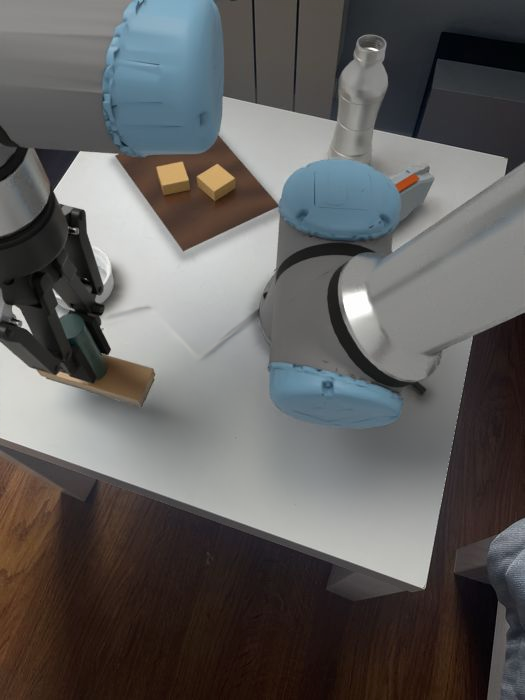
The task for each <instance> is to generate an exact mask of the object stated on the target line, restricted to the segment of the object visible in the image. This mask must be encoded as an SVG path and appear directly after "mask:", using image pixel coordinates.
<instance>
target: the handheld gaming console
mask: <svg viewBox="0 0 525 700" xmlns="http://www.w3.org/2000/svg"><path fill="white" fill-rule="evenodd" d="M430 169H431V167H430V166H429V165H428V163H426V162H422V163H419V164H415V165H411V166H408V167H406V168H405V169H403V170H401V171H400V172H398V173H396V174H395V175H393V176H392V177H389V179H390V180H391V181H392V182H393V183H394V184H395V186H396V187H397V189H398V191H399V194H400V197H401V210H400V214H401V215H400V216H401V218H400V220H399V223H401V222H402V221H404V220H405V219H406V218H408V217H409V216H410V214H411V213H412V211H414V209H416V208H418V207H419V206H420V205H422V204H423V203H424V202H425V200H426V198H427V196H428V194H429V192H430V190H431V188H432V185H433V183H434V182H435V179H436V178H435V176H434V175H432V174H431V173H430Z"/></svg>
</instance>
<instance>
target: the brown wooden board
mask: <svg viewBox="0 0 525 700" xmlns="http://www.w3.org/2000/svg"><path fill="white" fill-rule="evenodd" d="M114 157H115V158H116V160H117V161H118V162H119V164H120V165H121V167H122V168H123V169H124V171H125V173H126V174H127V175H128V177H129V178H130V179H131V181H132V182H133V184H134V185H135V186H136V187H137V189H138V190H139V192H140V193H141V195H142V196H143V197H144V199H145V200H146V202H147V204H149V206H150V207H151V208H152V210H153V211H154V213H155V215H157V217H158V218H159V220H160V221H161V222H162V224H163V225H164V227H165V228H166V229H167V231H168V232H169V234H170V235H171V236H172V238H173V240H175V242H176V244H178V246H179V247H180V249H181V251H182V252H185V251H187V250H190V249H192V248H193V247H196V246H198V245H200V244H202V243H204V242H206V241H208V240H211V239H214V238H215V237H218V236H220V235H221V234H224V233H226V232H228V231H230V230H233V229H234V228H237V227H238V226H240V225H243V224H245V223H247V222H249V221H251V220H253V219H256V218H257V217H259V216H261V215H264V214H266V213H268V212H271V211H272V210H275V209H277V208H278V204H279V203H278V202H277V201H276V200H275V198H274V197H272V196H271V194H270V193H269V192H268V191H267V189H265V187H264V186H263V185H262V184H261V182H260V181H259V180H258V179H257V177H256V176H254V174H252V172H251V171H250V170H249V169H248V167H247V166H246V165H245V164H244V163H243V162H242V161H241V160H240V158H239V157H238V156H237V155H236V154H235V152H234V151H233V150H232V149H231V148H230V147H229V146H228V144H227V143H226V142H225V141H224V140H223V138H221V136H220V135H219V134H218V137H217V139H216V141H215V142H214V144H213V145H212V146H211V147H210V148H209V149H208V150H207V151H205V152H203V153H199V154H161V155H148V156H146V157H141V158H140V157H137V156H136V157H132V156H130V155H126V154H114ZM177 162H183V164H184V167H185V170H186V173H187V176H188V179H189V184H190V190H187V191H183V192H178V193H173V194H169V195H164V194H163V191H162V188H161V185H160V181H159V178H158V174H157V169H156V167H158V166H163V165H168V164H173V163H177ZM216 164H218V165H220V166H221V167H222V168H223V169H224V170H226V171H227V172H228V173H229V174H231V175H232V176H233V177H234V178H235V189H233V190H232V191H230V192H229V193H227V194H225V195H224V196H222V197H221V198H219V199H218V200H216V201H214V200H213V199H212V198H211V197H210V196H208V195H207V194H206V193H205V192H204V191H203V190H201V189H200V188H199V187H198V183H197V176H198V175H200V174H202V173H203V172H205V171H206V170H208V169H210V168H211V167H213V166H215V165H216Z"/></svg>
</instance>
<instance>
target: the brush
mask: <svg viewBox="0 0 525 700" xmlns="http://www.w3.org/2000/svg"><path fill="white" fill-rule="evenodd" d="M59 319H60V322H61V324H62V327H63V329H64V332H65V334H66V337H67V339H68V342H69V344H70V345H73V346H76V347H79V349H80V350H81V352H82V354H83V355H84V357H85V359H86V360H87V362H88V363H89V365H90V367H91V368H92V370H93V372H94V373H95V375H96V377H97V378H96V380H95V382H94V384H93V383H90V382H86V381H83V380H80V379H76V378H73V377H70V376H69V374H66V373H63V372H59V373H58V374H57V375H53V374H49V373H46V372H43V371H39V370H36V372H37V373H38V374H39V376H41V377H43V378H45V379H46V380H50V381H53V382H55V383H59V384H62V385H65V386H69V387H72V388H76V389H79V390H83V391H86V392H89V393H92V394H96V395H98V396H101V397H105V398H108V399H112V400H115V401H118V402H122V403H125V404H129V405H132V406H136V407H138V408H143V406H144V405H145V402H146V400H147V398H148V395H149V393H150V391H151V389H152V386H153V384H154V382H155V380H156V379H155V377H156V372H155V369H154V368H153V367H149V366H146V365H142V364H139V363H135V362H132V361H128V360H124V359H121V358H119V357H115V356H112V355H105V354H102V353H101V352H100V350H99V348H98V346H97V344H96V342H95V341H94V339H93V337H92V335H91V333H90V331H89V329H88V328H87V326H86V324H85V322H84V320H83V319H82V317H81V316H79V315H77V314H68V313H67V314H63V315H62V316H59Z"/></svg>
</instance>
